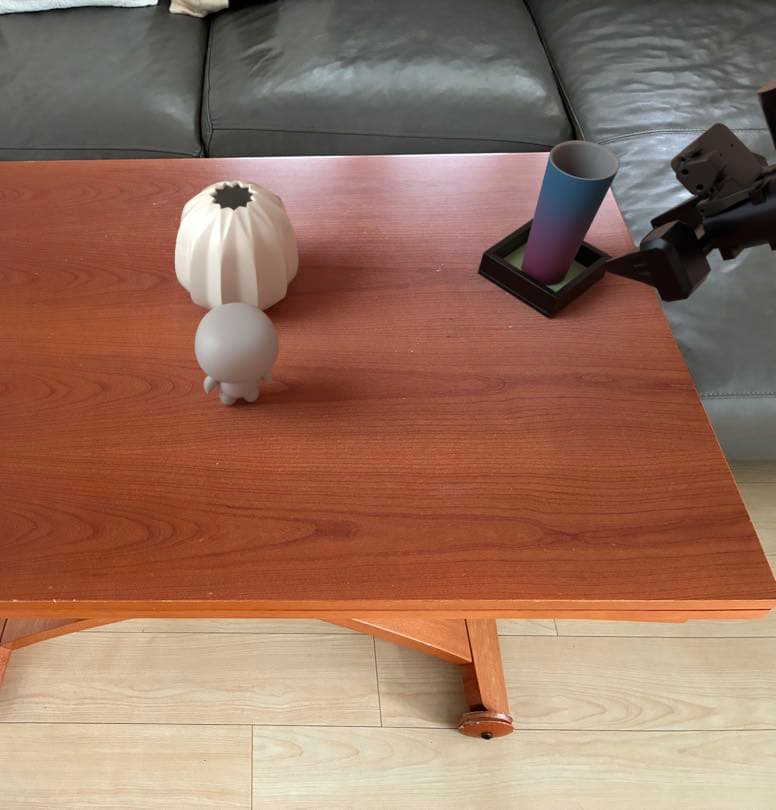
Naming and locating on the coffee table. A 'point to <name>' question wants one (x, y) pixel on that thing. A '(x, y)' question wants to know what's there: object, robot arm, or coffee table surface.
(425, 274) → the coffee table surface
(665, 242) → the robot arm
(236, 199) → the vase
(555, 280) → the cup
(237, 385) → the figurine
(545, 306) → the tray
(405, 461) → the coffee table surface
